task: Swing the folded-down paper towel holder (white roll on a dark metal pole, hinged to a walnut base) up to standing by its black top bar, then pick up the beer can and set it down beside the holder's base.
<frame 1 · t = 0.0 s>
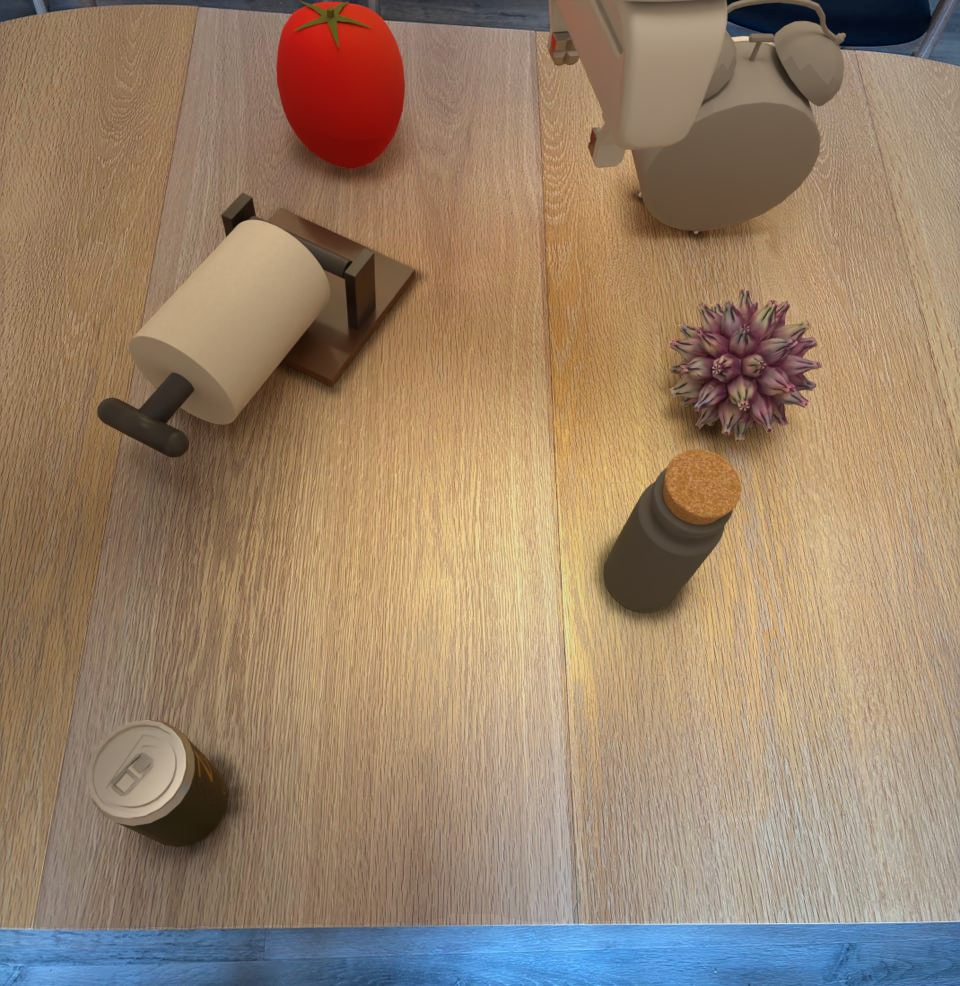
hand: (581, 106, 54), 24 cm above the table, tool pointing down, fingers open, 8 cm apart
holder base: (305, 296, 75), on the table
flower: (717, 407, 73), on the table
beer can: (187, 803, 55), on the table
bottle: (640, 577, 65), on the table
tomato: (345, 147, 84), on the table
towel holder: (225, 332, 65), point 6 cm above the table, hinge at 0.0°
alarm clock: (690, 216, 84), on the table
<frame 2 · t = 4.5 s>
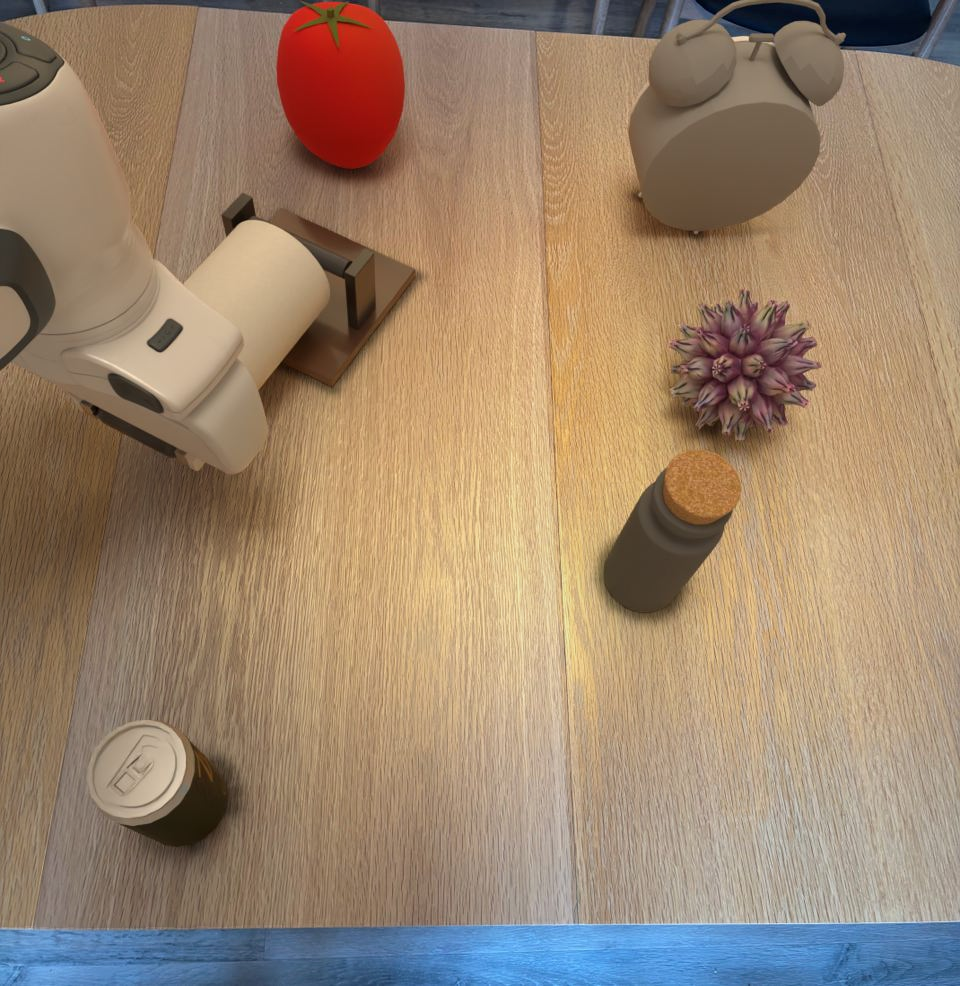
hand: (146, 434, 61), 5 cm above the table, tool pointing down, fingers closed on towel holder, 7 cm apart
towel holder: (225, 332, 65), point 6 cm above the table, hinge at -0.2°, touching gripper
everything else where it was.
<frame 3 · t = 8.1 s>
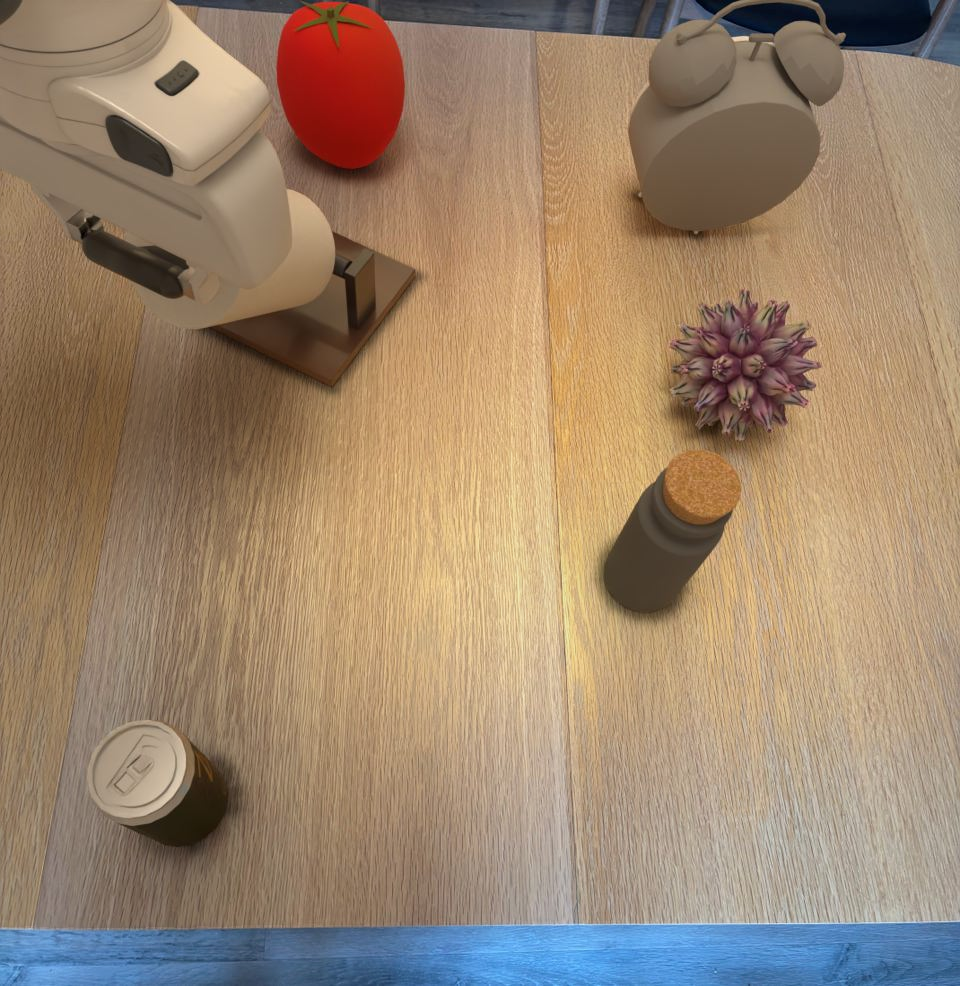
hand: (144, 265, 52), 18 cm above the table, tool pointing down, fingers closed on towel holder, 7 cm apart
towel holder: (228, 254, 60), point 12 cm above the table, hinge at 38.3°, touching gripper
everything else where it was.
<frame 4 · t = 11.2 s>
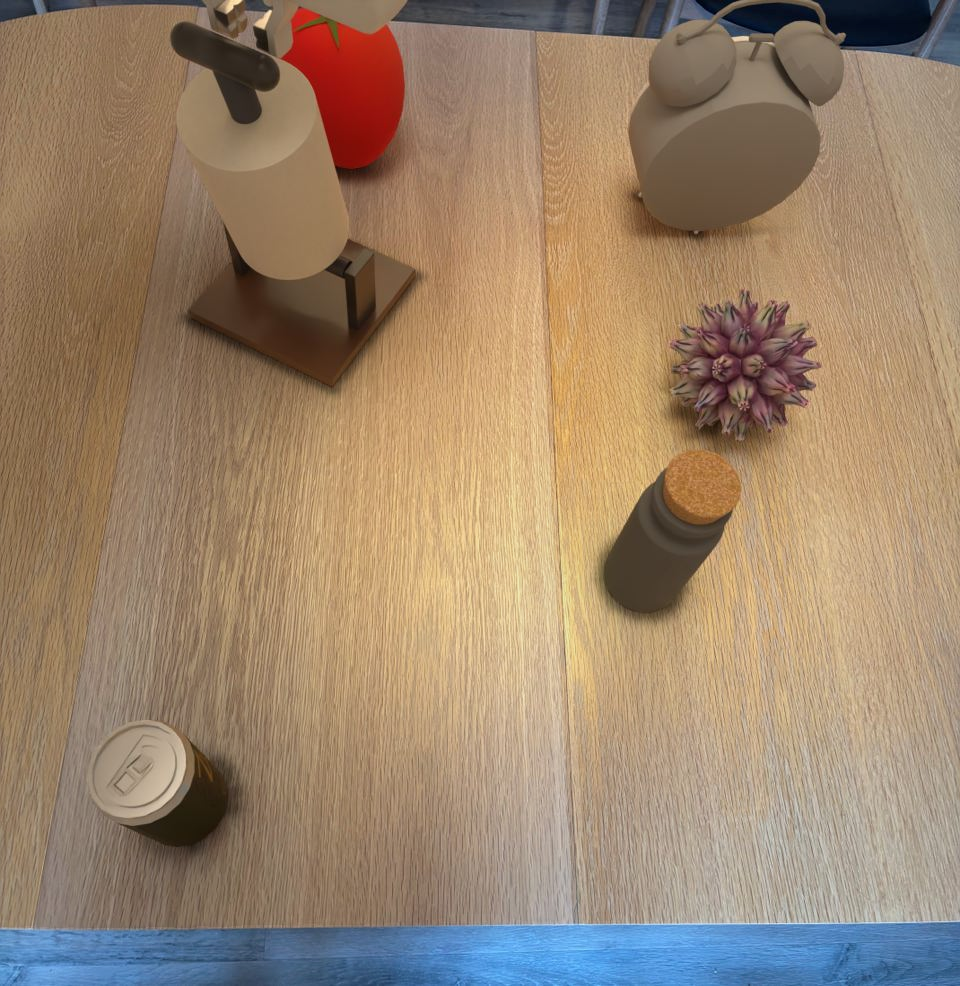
hand: (252, 39, 52), 25 cm above the table, tool pointing down, fingers closed
towel holder: (267, 166, 60), point 16 cm above the table, hinge at 77.0°
everything else where it was.
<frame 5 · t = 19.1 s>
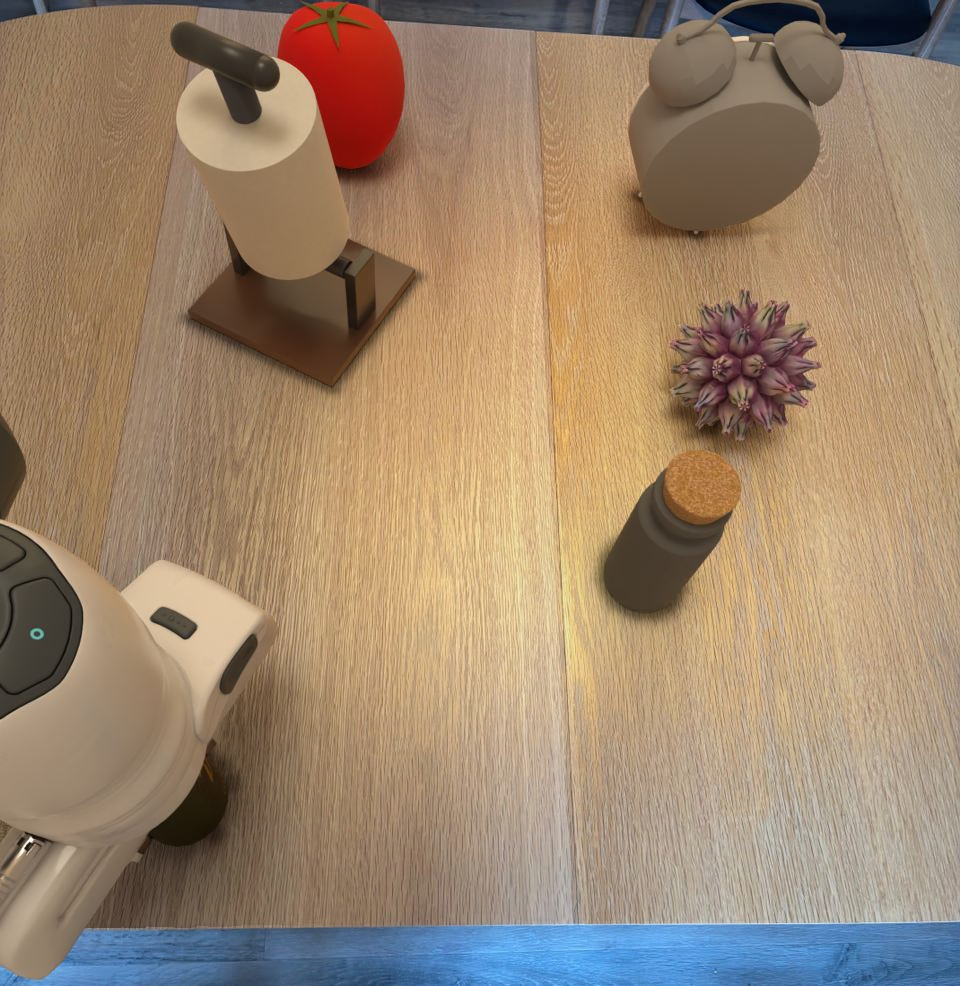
hand: (170, 790, 51), 5 cm above the table, tool pointing down, fingers closed on beer can, 5 cm apart
beer can: (187, 803, 55), on the table, touching gripper
everything else where it was.
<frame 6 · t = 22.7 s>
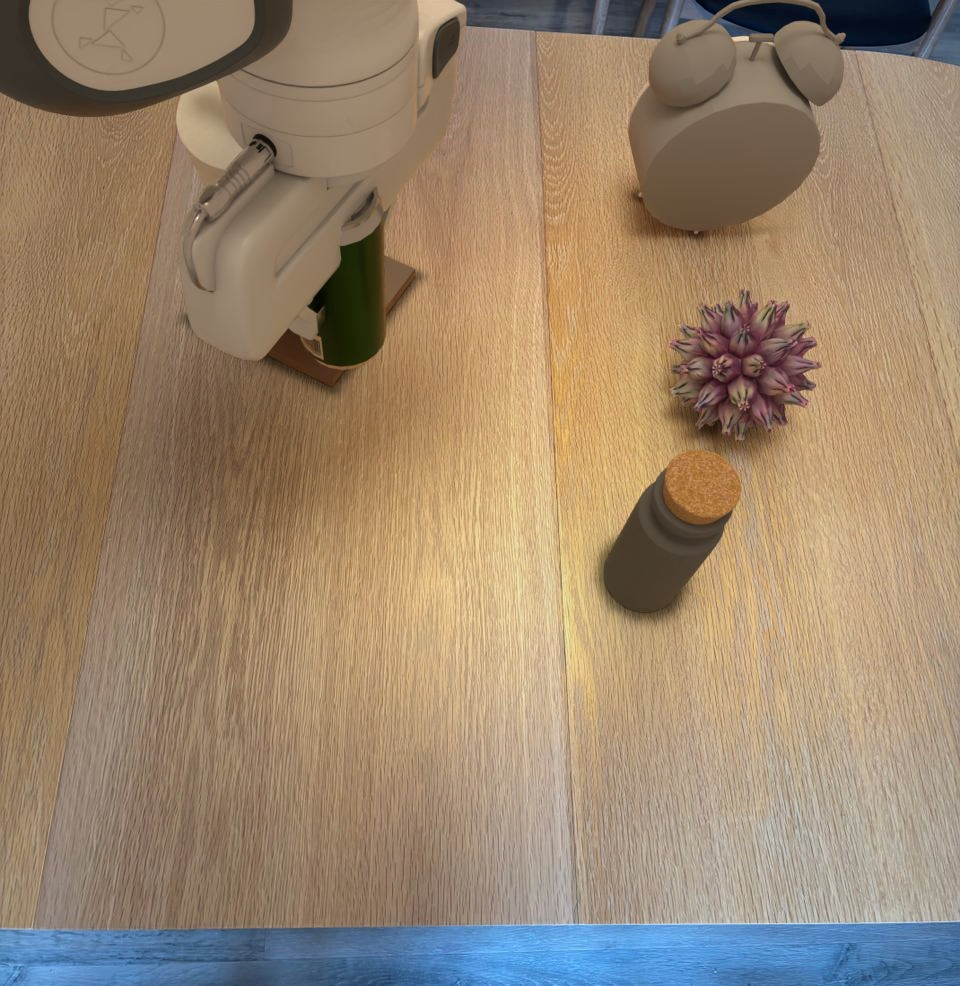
hand: (338, 289, 51), 20 cm above the table, tool pointing down, fingers closed on beer can, 5 cm apart
beer can: (344, 341, 55), point 15 cm above the table, touching gripper
everything else where it was.
when the fingers open (5 cm above the table, at t = 26.8 s): beer can stays where it is, on the table.
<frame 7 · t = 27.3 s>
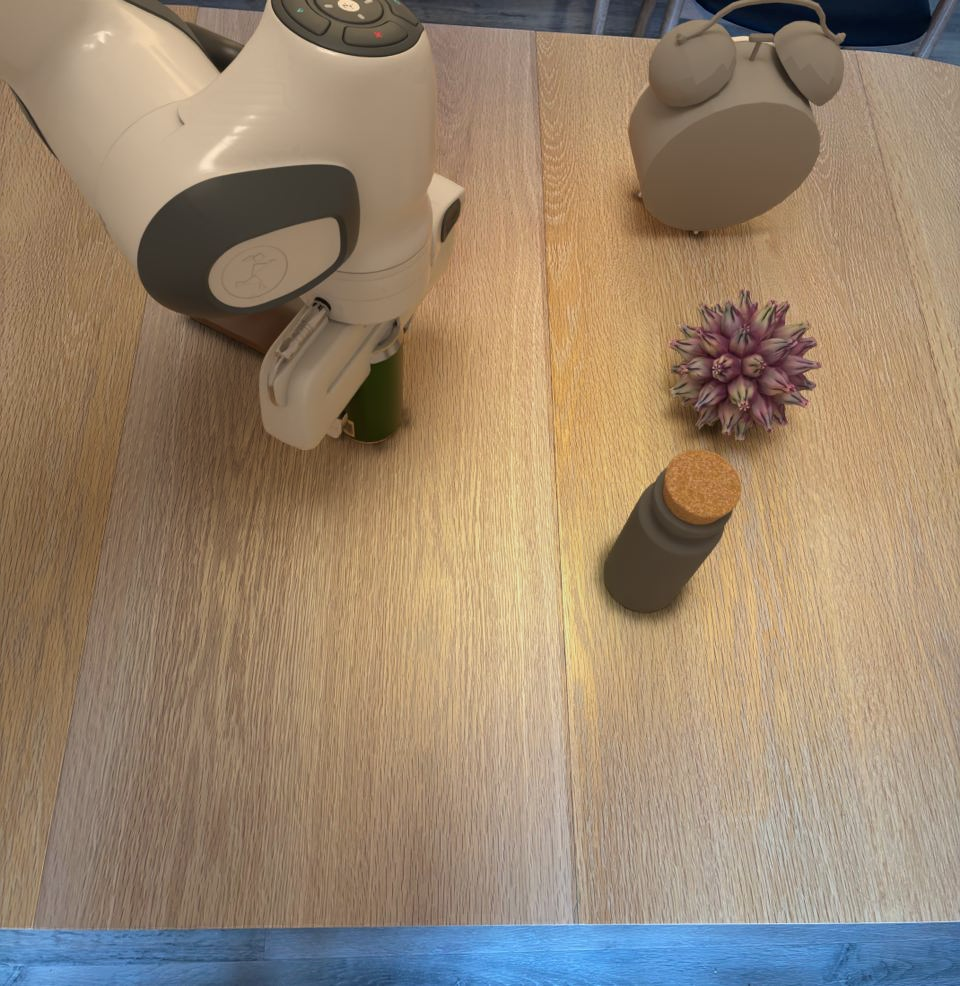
hand: (366, 382, 65), 5 cm above the table, tool pointing down, fingers open, 8 cm apart
beer can: (369, 420, 70), on the table
everything else where it was.
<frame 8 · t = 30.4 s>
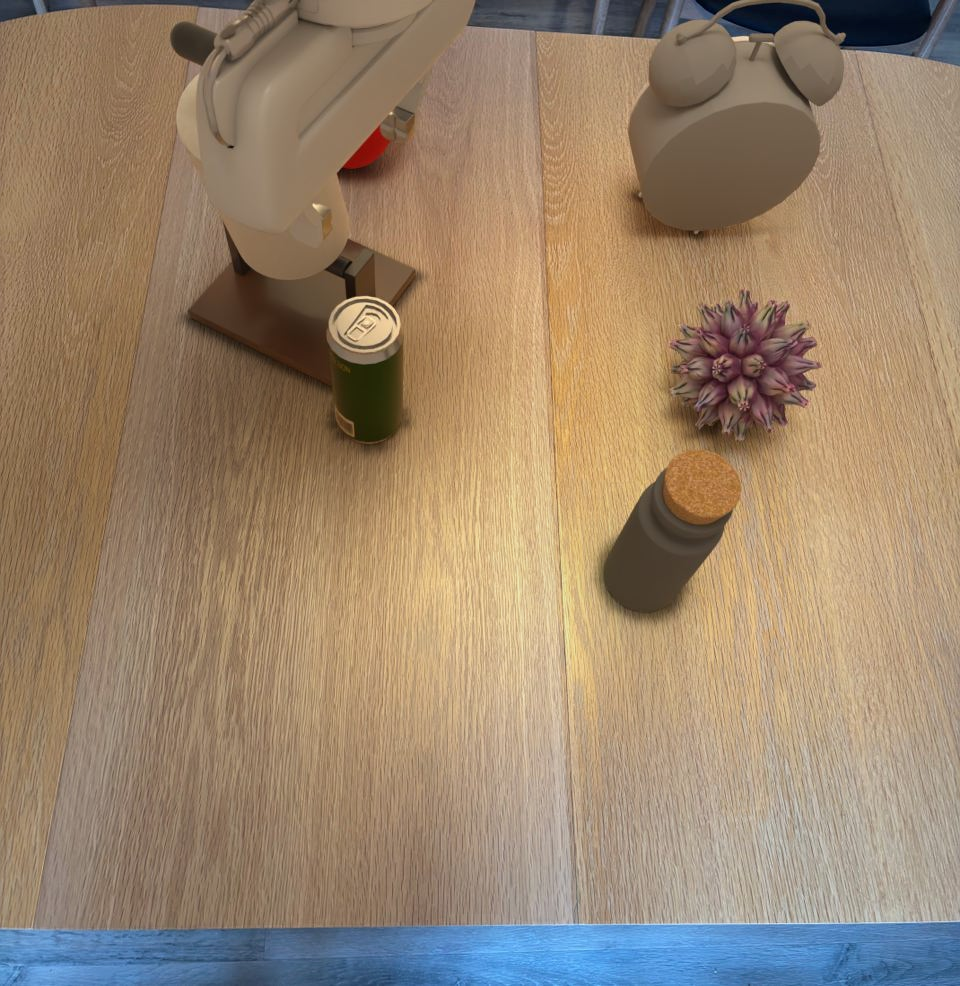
hand: (357, 183, 48), 24 cm above the table, tool pointing down, fingers open, 8 cm apart
nothing on the table moved.
at the end: towel holder at +77° (first picture: +0°); beer can 13.8 cm from the holder base (horizontally); beer can tilted 0° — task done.
